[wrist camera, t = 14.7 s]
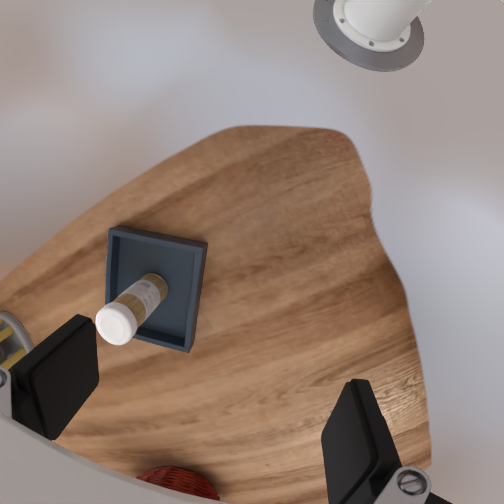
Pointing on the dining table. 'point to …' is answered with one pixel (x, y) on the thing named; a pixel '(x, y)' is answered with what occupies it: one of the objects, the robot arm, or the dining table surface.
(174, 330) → the tray
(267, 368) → the dining table surface
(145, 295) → the sprinkles bottle
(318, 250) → the dining table surface
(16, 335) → the lantern
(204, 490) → the vase
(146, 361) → the dining table surface
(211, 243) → the dining table surface
